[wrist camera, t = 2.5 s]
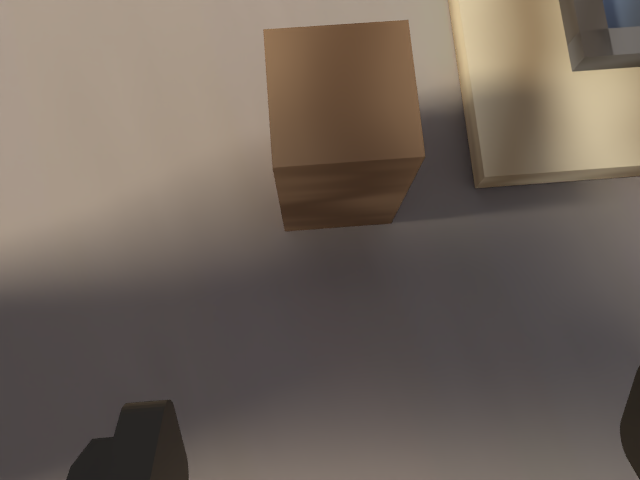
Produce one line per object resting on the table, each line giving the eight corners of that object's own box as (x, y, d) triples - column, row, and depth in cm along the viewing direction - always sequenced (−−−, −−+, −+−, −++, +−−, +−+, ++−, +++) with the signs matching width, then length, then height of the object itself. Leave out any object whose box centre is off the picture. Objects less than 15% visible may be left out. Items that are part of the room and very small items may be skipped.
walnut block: (284, 231, 26) (272, 167, 18) (277, 131, 26) (263, 29, 19) (391, 223, 26) (425, 156, 18) (380, 124, 27) (408, 19, 19)
